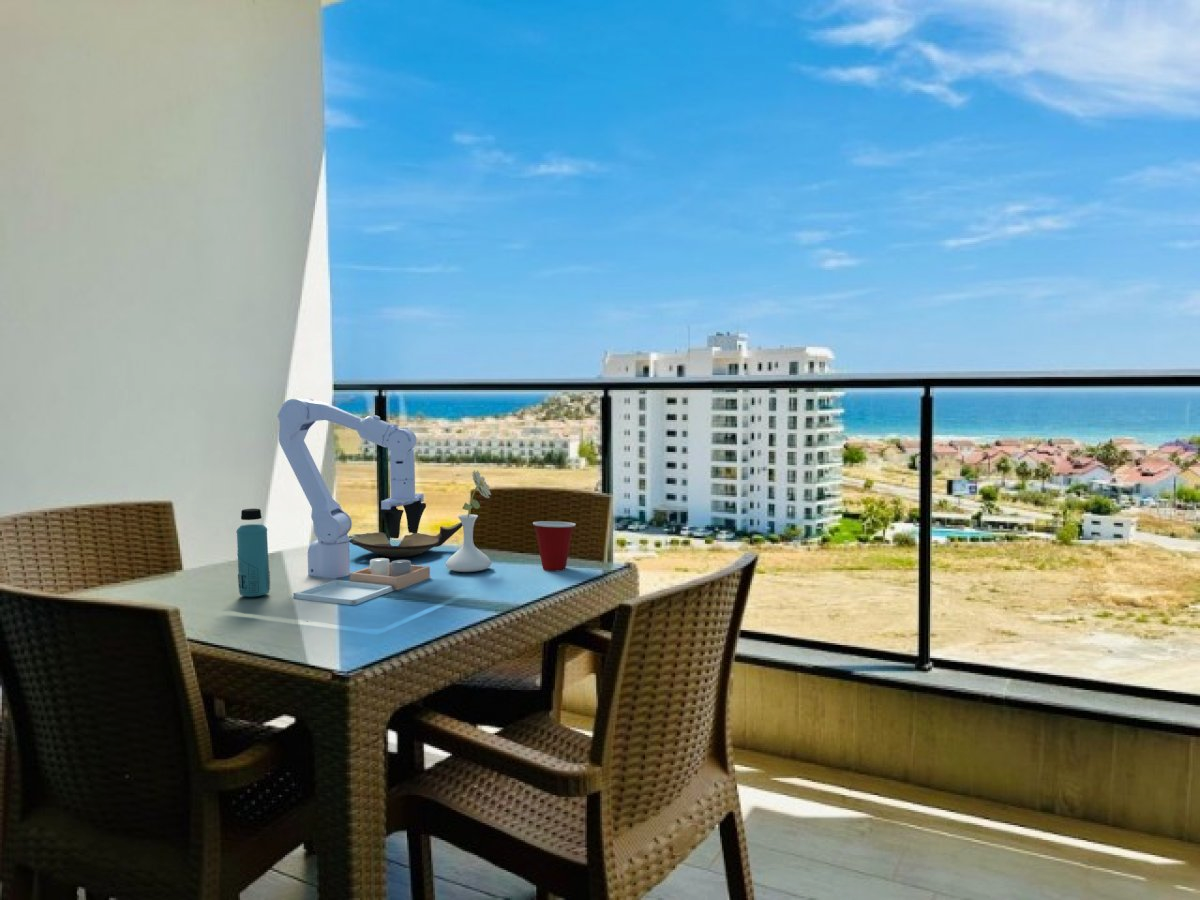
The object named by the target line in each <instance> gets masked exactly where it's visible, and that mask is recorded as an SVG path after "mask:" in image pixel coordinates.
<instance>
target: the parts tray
mask: <svg viewBox="0 0 1200 900" xmlns="http://www.w3.org/2000/svg"><path fill="white" fill-rule="evenodd" d="M394 591H395V590H394V586H392V585H382V584H372V583H363V582H353V581H350V580H341V579H334V580H331V581H327V582H325V583H322V584H319V585H314V586H312V587H309V588H306V589H303V590H300V591H296V592H294V593H293V594H292V595H293V599H296V600H298V599H299V600H307V601H315V602H324V603H331V604H340V605H348V606H356V605H359V604H363V603H364V602H366V601H371V600H372V599H375V598H377V597H380V596H383V595H385V594H388V593H391V592H394Z"/></svg>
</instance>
